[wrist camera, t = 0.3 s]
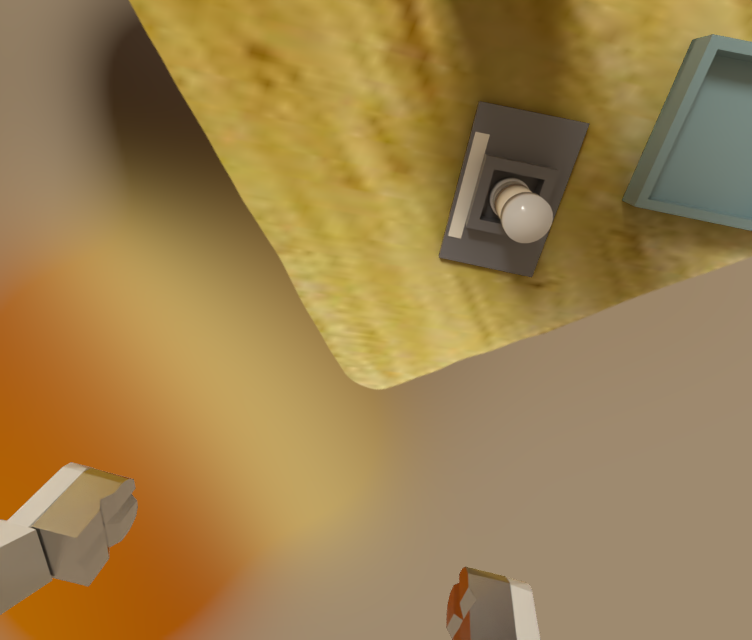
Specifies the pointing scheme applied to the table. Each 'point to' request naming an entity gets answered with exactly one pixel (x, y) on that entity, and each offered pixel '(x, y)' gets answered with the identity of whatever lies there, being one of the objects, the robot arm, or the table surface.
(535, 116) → the board
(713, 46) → the tray
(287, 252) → the table surface
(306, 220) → the table surface
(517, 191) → the cylinder
